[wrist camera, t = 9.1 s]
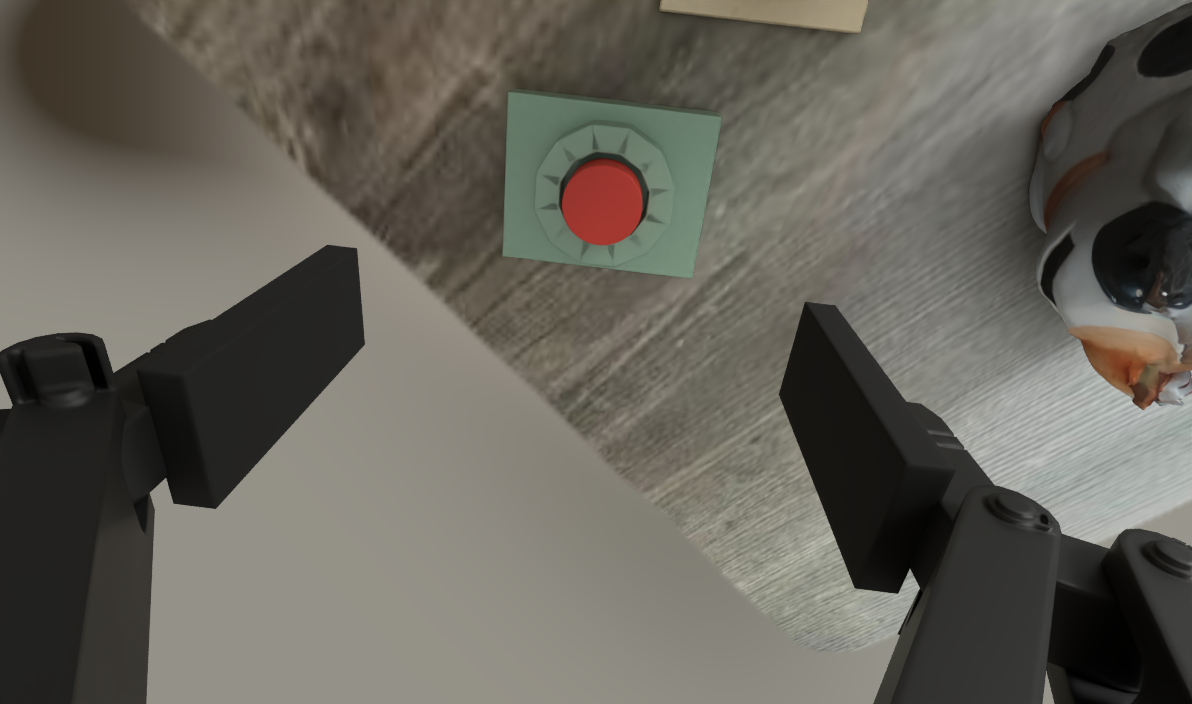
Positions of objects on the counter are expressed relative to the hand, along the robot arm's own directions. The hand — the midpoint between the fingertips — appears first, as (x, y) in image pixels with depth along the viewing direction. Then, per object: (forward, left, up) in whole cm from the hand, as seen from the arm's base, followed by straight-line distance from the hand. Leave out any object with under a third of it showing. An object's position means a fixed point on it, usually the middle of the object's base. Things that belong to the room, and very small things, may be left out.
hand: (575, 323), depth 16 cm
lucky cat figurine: (+26, +3, -18) cm, 32 cm away
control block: (0, 0, -18) cm, 18 cm away
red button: (0, 0, -15) cm, 15 cm away
